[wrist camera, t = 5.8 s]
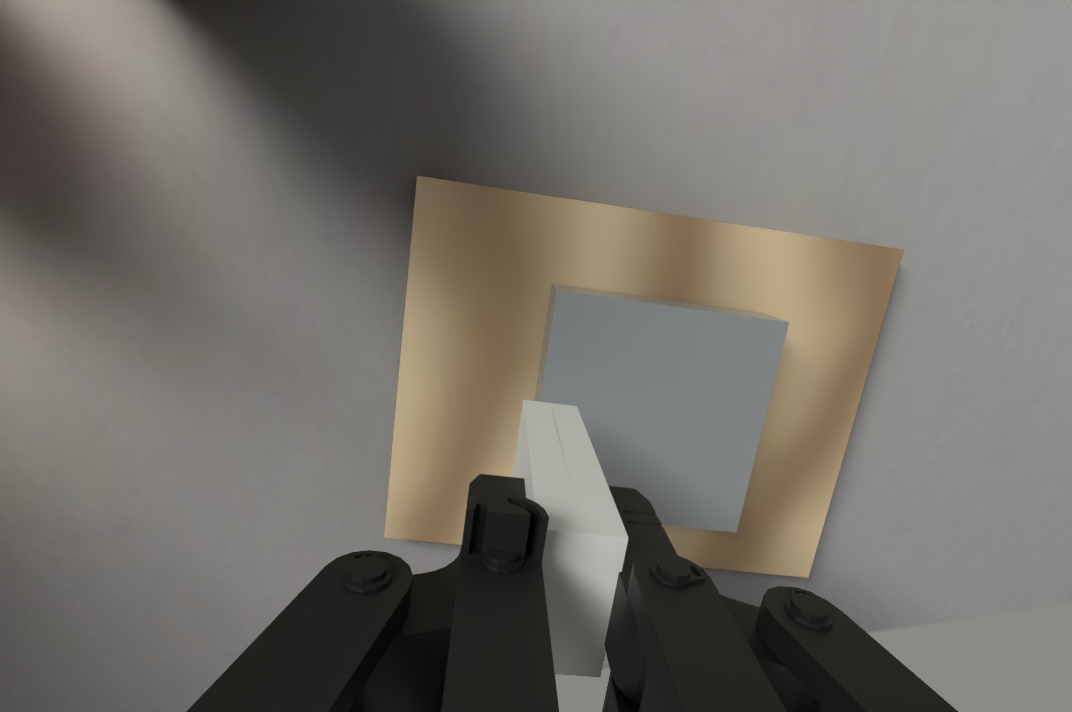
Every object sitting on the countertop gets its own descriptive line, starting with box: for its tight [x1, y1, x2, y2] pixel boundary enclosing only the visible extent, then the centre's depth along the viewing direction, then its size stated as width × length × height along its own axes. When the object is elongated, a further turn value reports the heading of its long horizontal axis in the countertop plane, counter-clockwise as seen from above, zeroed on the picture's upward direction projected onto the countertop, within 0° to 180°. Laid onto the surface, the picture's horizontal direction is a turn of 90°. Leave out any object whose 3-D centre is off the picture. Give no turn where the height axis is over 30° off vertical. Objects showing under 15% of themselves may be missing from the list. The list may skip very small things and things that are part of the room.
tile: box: [534, 283, 789, 532], centre depth 21 cm, size 2×8×8 cm
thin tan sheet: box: [384, 176, 904, 578], centre depth 22 cm, size 18×14×1 cm
